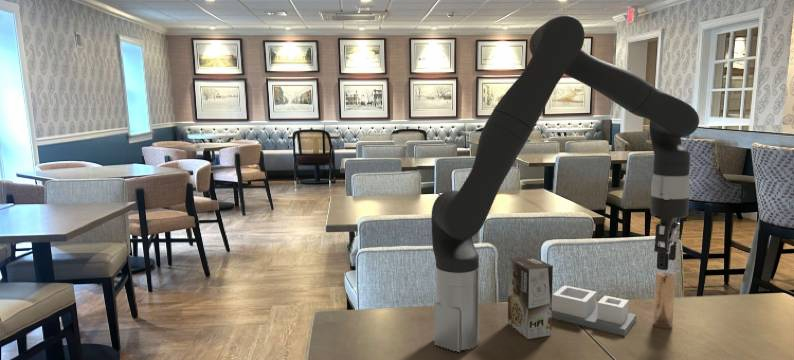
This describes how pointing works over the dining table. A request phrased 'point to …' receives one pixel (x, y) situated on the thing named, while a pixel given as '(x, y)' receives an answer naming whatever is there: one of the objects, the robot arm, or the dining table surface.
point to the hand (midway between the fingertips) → (666, 264)
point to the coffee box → (530, 296)
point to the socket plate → (592, 310)
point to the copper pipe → (664, 300)
